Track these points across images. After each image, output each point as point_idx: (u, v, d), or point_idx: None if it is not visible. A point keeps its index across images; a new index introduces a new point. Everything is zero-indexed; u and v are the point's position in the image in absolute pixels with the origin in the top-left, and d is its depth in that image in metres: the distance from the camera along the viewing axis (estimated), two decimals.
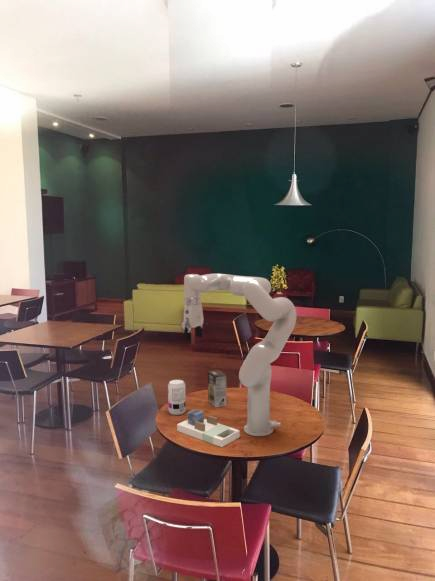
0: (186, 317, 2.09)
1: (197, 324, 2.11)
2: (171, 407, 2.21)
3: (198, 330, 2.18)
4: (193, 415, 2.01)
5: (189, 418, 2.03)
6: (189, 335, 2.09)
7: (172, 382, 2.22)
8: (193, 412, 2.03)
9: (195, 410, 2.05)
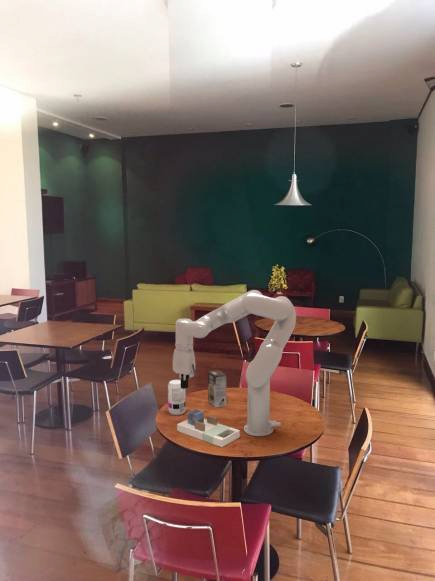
0: None
1: (178, 370, 2.03)
2: (171, 407, 2.21)
3: None
4: (193, 415, 2.01)
5: (189, 418, 2.03)
6: None
7: (172, 382, 2.22)
8: (193, 412, 2.03)
9: (195, 410, 2.05)
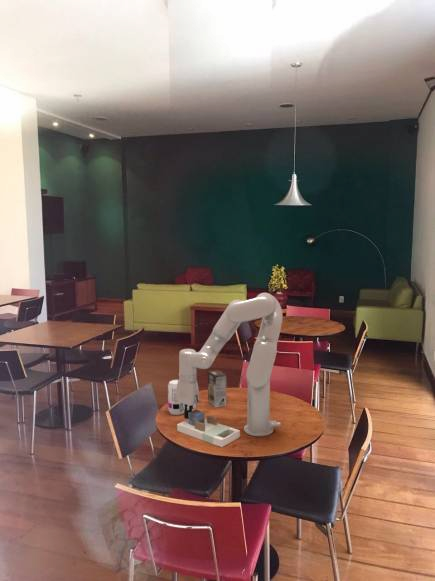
0: None
1: (182, 401, 2.04)
2: (171, 407, 2.21)
3: None
4: (194, 415, 2.00)
5: (190, 418, 2.02)
6: None
7: (172, 382, 2.22)
8: (194, 412, 2.02)
9: (196, 410, 2.05)
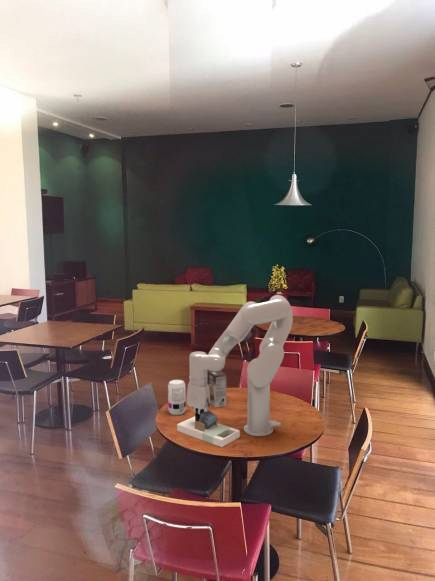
0: None
1: (193, 405, 2.00)
2: (171, 407, 2.21)
3: None
4: (207, 418, 1.97)
5: (201, 419, 1.98)
6: None
7: (172, 382, 2.22)
8: (207, 414, 1.98)
9: (208, 412, 2.01)
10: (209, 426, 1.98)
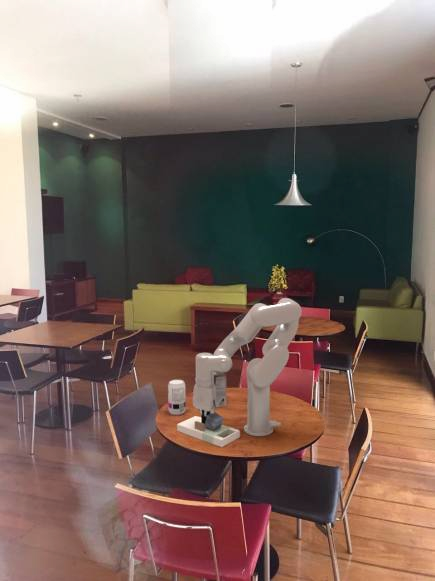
0: None
1: (199, 406, 1.98)
2: (171, 407, 2.21)
3: None
4: (213, 420, 1.94)
5: (207, 421, 1.96)
6: None
7: (172, 382, 2.22)
8: (213, 416, 1.96)
9: (215, 414, 1.98)
10: (215, 428, 1.96)
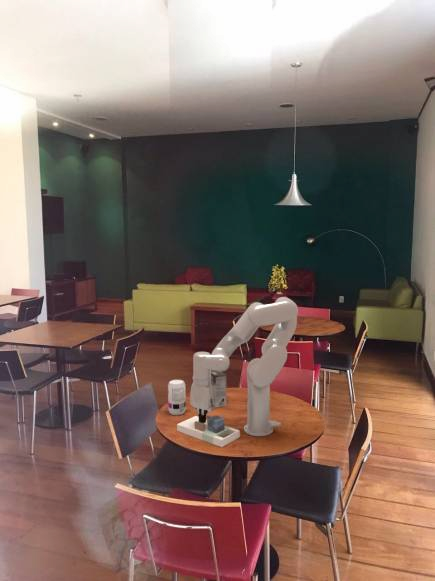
0: None
1: (196, 405, 1.98)
2: (171, 407, 2.21)
3: None
4: (213, 422, 1.94)
5: (209, 425, 1.96)
6: None
7: (172, 382, 2.23)
8: (213, 418, 1.96)
9: (215, 416, 1.98)
10: (218, 430, 1.94)
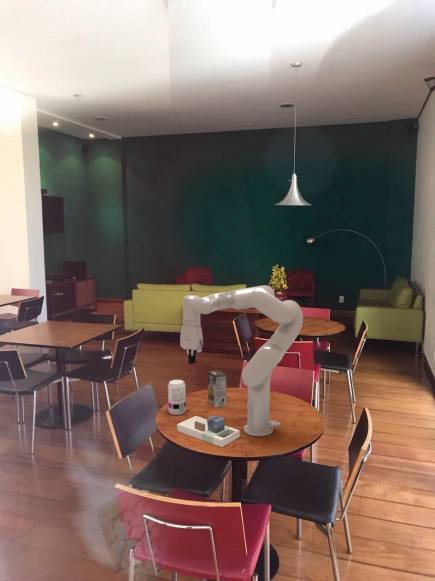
0: None
1: (186, 346, 2.07)
2: (171, 407, 2.21)
3: None
4: (213, 422, 1.94)
5: (209, 425, 1.96)
6: None
7: (172, 382, 2.22)
8: (213, 418, 1.96)
9: (215, 416, 1.98)
10: (218, 430, 1.94)
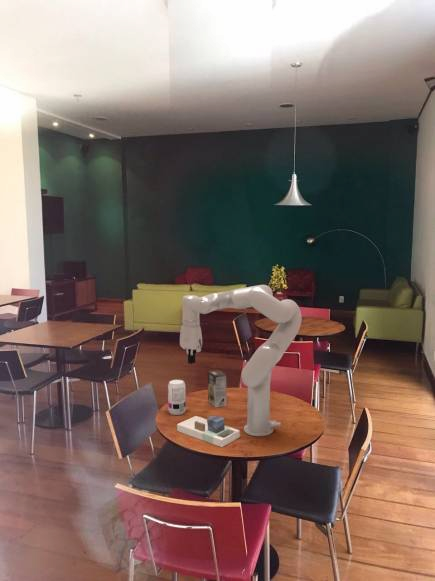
0: None
1: (185, 346, 2.08)
2: (171, 407, 2.21)
3: None
4: (213, 422, 1.94)
5: (209, 425, 1.96)
6: None
7: (172, 382, 2.22)
8: (213, 418, 1.96)
9: (215, 416, 1.98)
10: (218, 430, 1.94)
